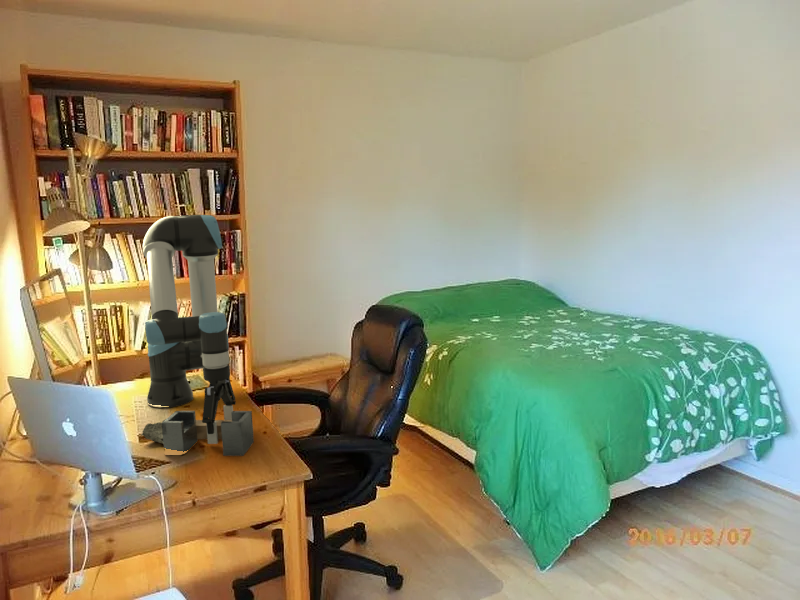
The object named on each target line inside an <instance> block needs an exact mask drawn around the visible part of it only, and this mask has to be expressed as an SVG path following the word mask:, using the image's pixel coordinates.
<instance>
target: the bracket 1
mask: <svg viewBox="0 0 800 600" xmlns="http://www.w3.org/2000/svg"><path fill="white" fill-rule="evenodd" d="M196 420H197V418H196V410H176V411H174V412H173V413H171V414H170V415H169V416H168V417H167V418H166V419H164V420H163V421H161V423H162V433H163V443H162V444H163V449H164V448H166V449H171V450H177V451H183V452H184V451H187V450H189V449H190V448H191V447H192V446H193V445H194V444H195V443H196V442H197V441H198V440H199V439H197V428H196ZM198 442H199V441H198ZM198 442H197V443H198ZM197 443H196V444H197ZM196 444H195V445H196ZM195 445H194V446H195ZM194 446H193V447H194ZM193 447H192V448H193ZM192 448H191V449H192ZM191 449H190V450H191ZM190 450H189V451H190Z"/></svg>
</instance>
